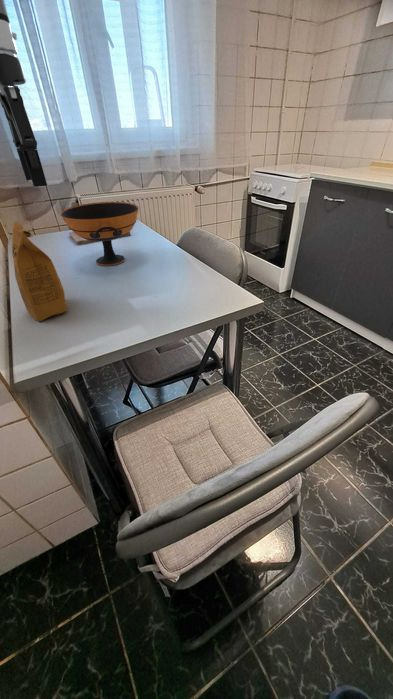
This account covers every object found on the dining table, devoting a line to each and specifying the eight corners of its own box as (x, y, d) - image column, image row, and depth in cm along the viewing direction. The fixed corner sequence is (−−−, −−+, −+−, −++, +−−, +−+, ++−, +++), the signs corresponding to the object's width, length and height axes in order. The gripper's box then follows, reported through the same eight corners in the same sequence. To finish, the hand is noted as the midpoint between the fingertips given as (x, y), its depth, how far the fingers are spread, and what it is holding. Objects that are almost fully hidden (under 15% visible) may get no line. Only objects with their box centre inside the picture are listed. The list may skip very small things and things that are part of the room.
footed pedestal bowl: (74, 250, 120) (61, 203, 109) (136, 242, 126) (130, 197, 116) (75, 285, 93) (58, 227, 82) (154, 273, 99) (148, 217, 88)
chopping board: (77, 244, 126) (76, 241, 125) (69, 235, 137) (68, 232, 136) (130, 235, 135) (130, 231, 134) (119, 227, 146) (118, 224, 145)
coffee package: (62, 296, 87) (35, 216, 73) (73, 313, 78) (45, 227, 65) (25, 305, 83) (-10, 223, 69) (33, 325, 74) (-6, 235, 61)
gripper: (26, 43, 49) (63, 187, 62) (13, 67, 66) (44, 176, 79) (-26, 38, 46) (24, 191, 58) (-25, 65, 63) (13, 178, 76)
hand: (36, 182), depth 69 cm, fingers open, 13 cm apart
